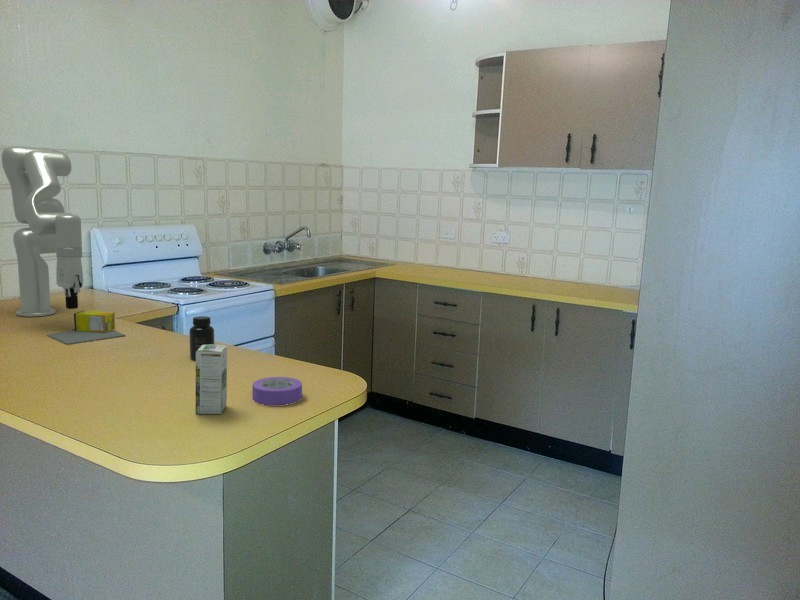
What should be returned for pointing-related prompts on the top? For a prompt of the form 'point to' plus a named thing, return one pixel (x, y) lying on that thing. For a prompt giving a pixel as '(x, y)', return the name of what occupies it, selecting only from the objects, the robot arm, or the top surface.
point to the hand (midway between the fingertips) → (72, 308)
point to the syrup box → (211, 379)
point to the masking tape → (277, 391)
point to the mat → (82, 336)
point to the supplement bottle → (200, 334)
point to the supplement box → (94, 321)
